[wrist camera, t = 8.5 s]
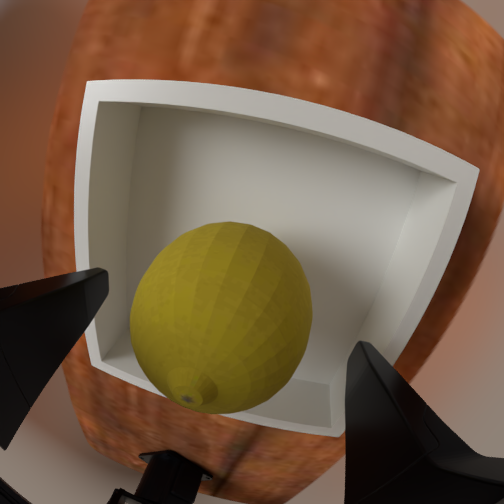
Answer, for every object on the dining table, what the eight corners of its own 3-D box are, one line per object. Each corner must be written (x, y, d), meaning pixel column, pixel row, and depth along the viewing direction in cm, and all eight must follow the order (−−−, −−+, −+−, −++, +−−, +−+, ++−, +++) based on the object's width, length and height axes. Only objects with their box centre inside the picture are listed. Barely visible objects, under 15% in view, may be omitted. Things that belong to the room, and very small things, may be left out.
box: (335, 385, 16) (338, 437, 12) (123, 326, 17) (91, 365, 13) (432, 158, 11) (479, 169, 7) (139, 91, 11) (87, 81, 8)
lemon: (171, 287, 14) (77, 398, 6) (213, 183, 12) (96, 225, 4) (271, 336, 14) (249, 480, 6) (330, 241, 12) (378, 363, 5)
